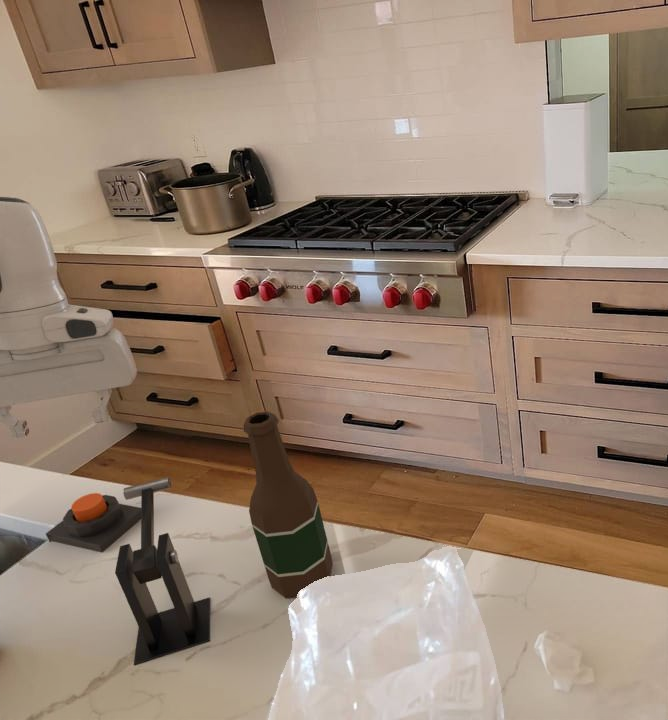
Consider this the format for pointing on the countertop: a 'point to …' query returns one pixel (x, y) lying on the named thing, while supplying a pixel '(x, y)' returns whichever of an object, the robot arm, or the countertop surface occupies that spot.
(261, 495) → the beer bottle
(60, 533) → the panel
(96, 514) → the button
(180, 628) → the power switch
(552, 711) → the countertop surface
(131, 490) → the power lever
